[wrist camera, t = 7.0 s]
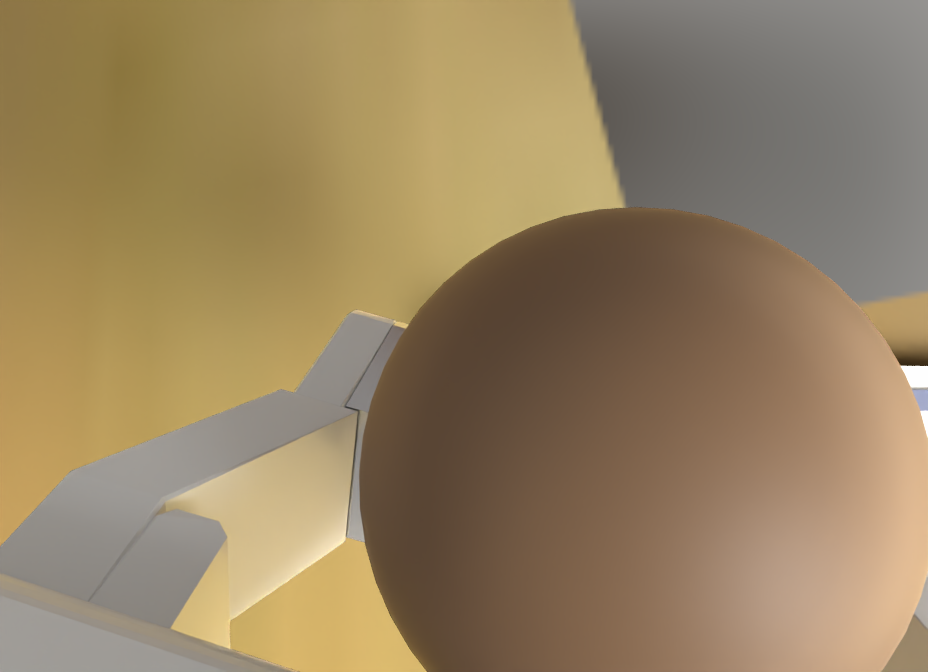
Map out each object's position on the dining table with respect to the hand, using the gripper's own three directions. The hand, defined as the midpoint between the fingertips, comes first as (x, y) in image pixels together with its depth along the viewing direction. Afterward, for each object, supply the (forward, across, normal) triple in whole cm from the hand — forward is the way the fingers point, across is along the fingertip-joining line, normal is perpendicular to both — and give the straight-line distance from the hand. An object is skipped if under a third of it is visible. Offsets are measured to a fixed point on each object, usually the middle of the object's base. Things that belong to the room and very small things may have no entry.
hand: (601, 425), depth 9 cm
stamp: (+4, 0, +5) cm, 6 cm away
